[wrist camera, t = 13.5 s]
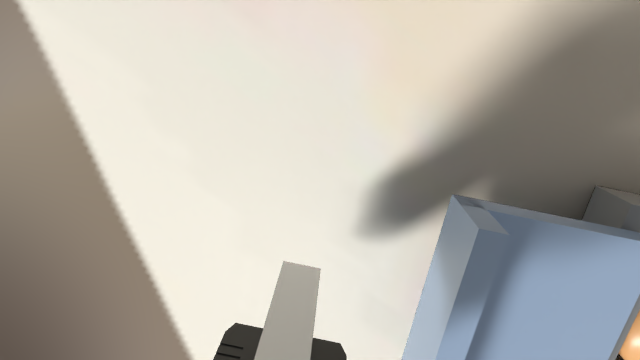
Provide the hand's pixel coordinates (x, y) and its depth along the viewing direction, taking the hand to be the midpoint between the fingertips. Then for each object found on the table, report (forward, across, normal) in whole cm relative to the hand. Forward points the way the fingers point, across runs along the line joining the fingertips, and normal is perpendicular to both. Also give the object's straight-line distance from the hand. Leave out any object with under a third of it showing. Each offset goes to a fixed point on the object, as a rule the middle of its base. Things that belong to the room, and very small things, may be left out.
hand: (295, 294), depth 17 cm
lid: (+1, +9, 0) cm, 9 cm away
